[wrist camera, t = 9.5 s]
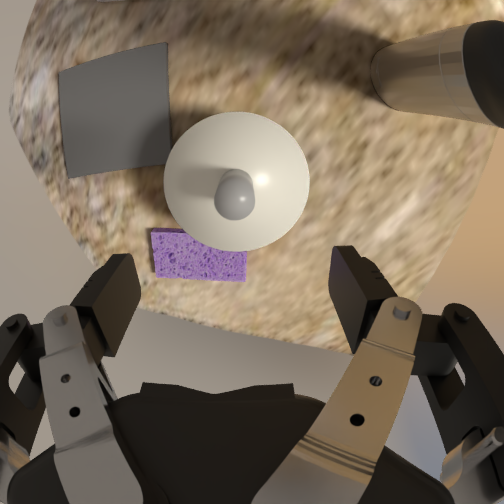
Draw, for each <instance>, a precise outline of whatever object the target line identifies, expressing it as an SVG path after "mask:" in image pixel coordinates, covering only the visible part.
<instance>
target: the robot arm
mask: <svg viewBox="0 0 504 504" xmlns="http://www.w3.org/2000/svg"><path fill="white" fill-rule="evenodd" d="M371 79H372V82H373V86H374V88H375V90H376V92H377V94H378V95H379V96H380V98H381V99H382V100H383V101H384V102H385V103H386V104H387V105H389V106H390V107H392V108H393V109H396V110H398V111H402V112H410V113H419V114H427V115H435V116H443V117H449V118H456V119H461V120H467V121H472V122H478V123H483V124H487V125H492V126H496V127H501V128H504V22H501V21H497V20H489V21H482V22H476V23H472V24H467V25H462V26H457V27H453V28H449V29H445V30H441V31H437V32H433V33H429V34H425V35H422V36H418V37H415V38H412V39H408V40H405V41H402V42H399V43H396V44H393V45H390V46H387V47H385V48H383V49H381V50H379V51H378V52H377V53H376V55H375V56H374V58H373V60H372V63H371ZM328 286H329V294H330V297H331V299H332V302H333V304H334V307H335V309H336V312H337V314H338V317H339V319H340V322H341V324H342V327H343V330H344V332H345V335H346V337H347V340H348V343H349V345H350V348H351V351H352V353H353V354H355V355H354V357H353V359H352V360H351V362H350V364H349V366H348V368H347V370H346V371H345V373H344V375H343V377H342V378H341V380H340V382H339V383H338V385H337V387H336V389H335V390H334V392H333V393H332V395H331V397H330V398H329V400H328V402H327V403H324V402H322V401H320V400H317V399H314V398H312V397H308V396H303V395H298V394H294V387H293V383H291V384H276V385H257V386H251V387H247V388H242V389H238V390H234V391H229V392H224V393H220V394H210V393H206V392H202V391H198V390H194V389H190V388H186V387H183V386H179V385H171V384H157V383H145V382H143V383H142V387H141V390H140V393H136V394H131V395H127V396H124V397H121V398H119V399H118V398H117V396H116V394H115V392H114V390H113V387H112V385H111V382H110V380H109V378H108V375H107V373H106V370H105V368H104V365H103V364H102V362H101V359H102V357H103V356H108V357H115V355H116V353H117V350H118V348H119V346H120V343H121V341H122V339H123V337H124V334H125V332H126V330H127V328H128V325H129V323H130V321H131V319H132V316H133V314H134V312H135V310H136V308H137V306H138V303H139V301H140V298H141V287H140V283H139V279H138V275H137V271H136V267H135V263H134V259H133V257H132V255H131V254H130V253H127V254H113V255H112V256H111V257H110V258H109V260H108V261H107V262H106V263H105V265H104V266H102V267H101V268H99V269H98V270H97V271H95V272H94V273H93V274H92V276H91V277H90V278H89V280H88V281H87V282H86V283H85V285H84V288H82V289H81V290H80V292H79V293H78V294H77V296H76V297H75V298H74V300H73V301H72V303H71V304H70V305H69V306H68V305H66V306H60V307H57V308H55V309H54V310H52V311H50V312H49V313H48V314H47V315H46V317H45V318H44V321H43V323H39V324H33V325H30V323H29V321H28V319H27V317H26V316H25V315H24V314H16V315H13V316H11V317H9V318H8V319H6V320H5V321H4V322H3V324H2V325H1V326H0V502H2V503H4V504H497V503H499V502H501V501H502V500H504V354H503V353H502V351H501V350H500V348H499V347H498V345H497V344H496V342H495V341H494V339H493V338H492V336H491V335H490V334H489V332H488V331H487V329H486V328H485V326H484V325H483V324H482V322H481V321H480V320H479V318H478V317H477V315H476V314H475V313H474V312H473V311H472V310H471V309H469V308H468V307H466V306H464V305H462V304H457V303H452V304H448V305H447V306H445V308H444V310H443V313H442V315H441V316H439V315H429V314H422V311H421V309H420V307H419V306H418V305H417V304H416V303H415V302H413V301H411V300H409V299H407V298H403V297H398V296H397V294H396V293H395V291H394V290H393V288H392V287H391V285H390V284H389V283H388V281H387V280H386V279H385V278H384V276H383V274H382V273H381V272H380V270H379V269H378V267H377V266H376V265H375V263H373V262H372V261H370V260H369V259H367V258H366V257H361V256H360V255H359V254H358V252H357V251H356V249H355V248H354V247H353V246H352V245H350V246H334V247H333V249H332V256H331V265H330V273H329V282H328ZM16 362H18V363H19V365H20V366H21V368H22V369H23V370H24V372H25V374H24V376H23V378H22V380H21V382H20V384H19V386H18V388H17V390H16V392H15V394H14V393H13V392H12V390H11V389H10V387H9V376H10V374H11V372H12V370H13V368H14V366H15V364H16ZM457 362H459V365H460V366H461V368H462V370H463V372H464V374H465V386H464V384H463V383H462V380H461V379H460V376H459V374H458V372H457V370H456V369H455V365H456V363H457ZM410 375H418V377H419V380H420V382H421V385H422V387H423V390H424V392H425V395H426V397H427V400H428V402H429V405H430V407H431V410H432V413H433V415H434V418H435V421H436V424H437V427H438V430H439V432H440V435H441V438H442V441H443V444H444V448H445V451H446V454H447V456H446V457H445V459H444V461H443V464H442V473H441V475H440V480H441V482H442V483H441V482H440V481H438V480H437V479H435V478H433V477H432V476H430V475H428V474H427V473H425V472H424V471H422V470H421V469H419V468H417V467H416V466H414V465H413V464H411V463H410V462H408V461H407V460H405V459H404V458H402V457H401V456H399V455H398V454H396V453H395V452H394V451H392V450H391V449H389V448H388V447H386V446H385V443H386V440H387V438H388V435H389V433H390V431H391V428H392V426H393V423H394V421H395V418H396V416H397V413H398V410H399V408H400V405H401V402H402V399H403V396H404V393H405V390H406V387H407V384H408V381H409V378H410ZM45 408H47V413H48V417H49V422H50V426H51V430H52V434H53V438H54V442H55V444H54V445H52V446H51V447H49V448H48V449H47V450H45V451H44V452H42V453H41V454H40V455H38V456H37V457H36V458H34V459H32V460H31V461H30V458H29V456H30V452H31V449H32V446H33V443H34V440H35V436H36V434H37V431H38V428H39V425H40V422H41V419H42V416H43V414H44V411H45Z"/></svg>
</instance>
